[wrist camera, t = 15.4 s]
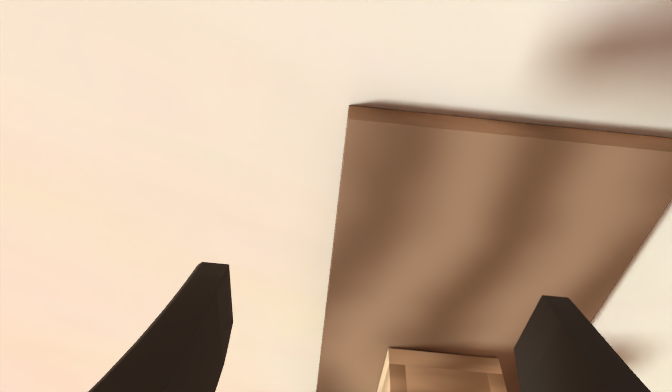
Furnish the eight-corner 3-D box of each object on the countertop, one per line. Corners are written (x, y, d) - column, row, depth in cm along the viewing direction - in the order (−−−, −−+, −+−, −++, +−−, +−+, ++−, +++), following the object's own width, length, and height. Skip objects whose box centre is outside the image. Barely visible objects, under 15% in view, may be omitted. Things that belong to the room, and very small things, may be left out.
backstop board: (684, 139, 19) (769, 220, 15) (506, 425, 34) (526, 506, 30) (349, 105, 19) (344, 177, 15) (314, 407, 34) (307, 486, 30)
